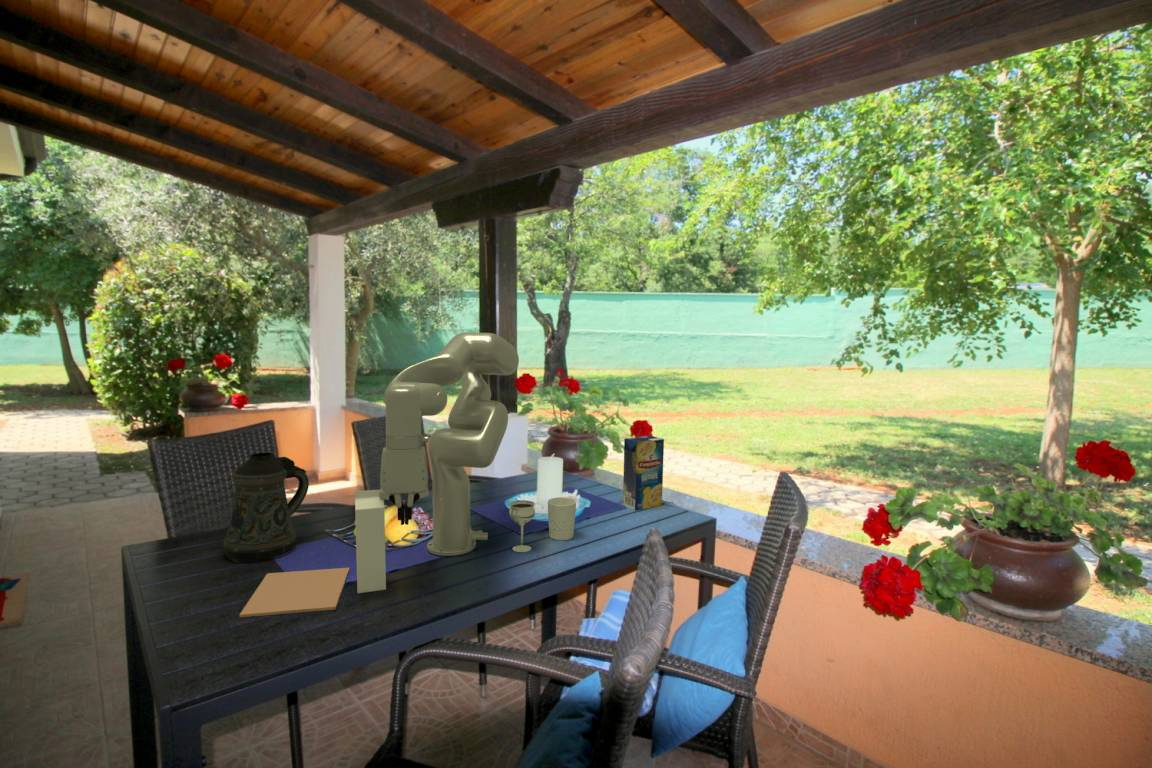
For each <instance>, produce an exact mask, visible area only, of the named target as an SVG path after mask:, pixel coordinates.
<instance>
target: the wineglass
mask: <svg viewBox="0 0 1152 768" xmlns="http://www.w3.org/2000/svg"><path fill="white" fill-rule="evenodd" d="M508 505H509V507H510V508H509V510H508V514H509V517H510V519H511V520H512V521H513V522H514V523H516V524H518V525H519V526H520V544H519V545H515V546H513V547H512V550H513V551H514V552H518V553H527V552H529V551H531V550H532V547H531V546H530V545H526V544H523V543H524V542H523V541H524V526H525V525H526V524H527V523H529V522H531V521H532V520H533V518H534V517H535V514H536V513H535V512H536V510H535V507H534V506H535V502H534V501H532V500H531V501H530V500H526V499H525V500H523V499H521V500H519V499H518V500H514V501H511V502H510V503H509V504H508Z"/></svg>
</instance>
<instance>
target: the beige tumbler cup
mask: <svg viewBox="0 0 1152 768" xmlns="http://www.w3.org/2000/svg"><path fill="white" fill-rule="evenodd" d="M576 507H577V501H576V499H574V498H571V497H565V496H559V497H553V498H550V499H548V500H547V519H548V520H547V521H548V533H549V534H548V536H549V538H551V539H553V540H555V541H556V540H557V541H568V540H571V539H573V538H574V532H575V531H574V530H575V525H576V524H575V523H576V509H577V508H576Z"/></svg>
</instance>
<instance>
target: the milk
mask: <svg viewBox="0 0 1152 768" xmlns="http://www.w3.org/2000/svg"><path fill="white" fill-rule="evenodd" d="M380 491H381V489H380V488H379V489H372V490H371V489H370V490H368V489H367V490H359V491H355V492H354V504H355V505H354V507H355V508H354V509H355V512H354V514H355V518H354V519H355V546H356V547H355V551H356V552H355V553H356V583H357V584H356V586H357V587H356V588H357V594H365V593H370V592H378V591H384V590H385V591H386V589H387V579H386V578H387V576H386V573H387V571H386V527H385V526H386V521H385V520H386V519H385V516H386V515H385V499H381V498H379V495H380Z"/></svg>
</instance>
